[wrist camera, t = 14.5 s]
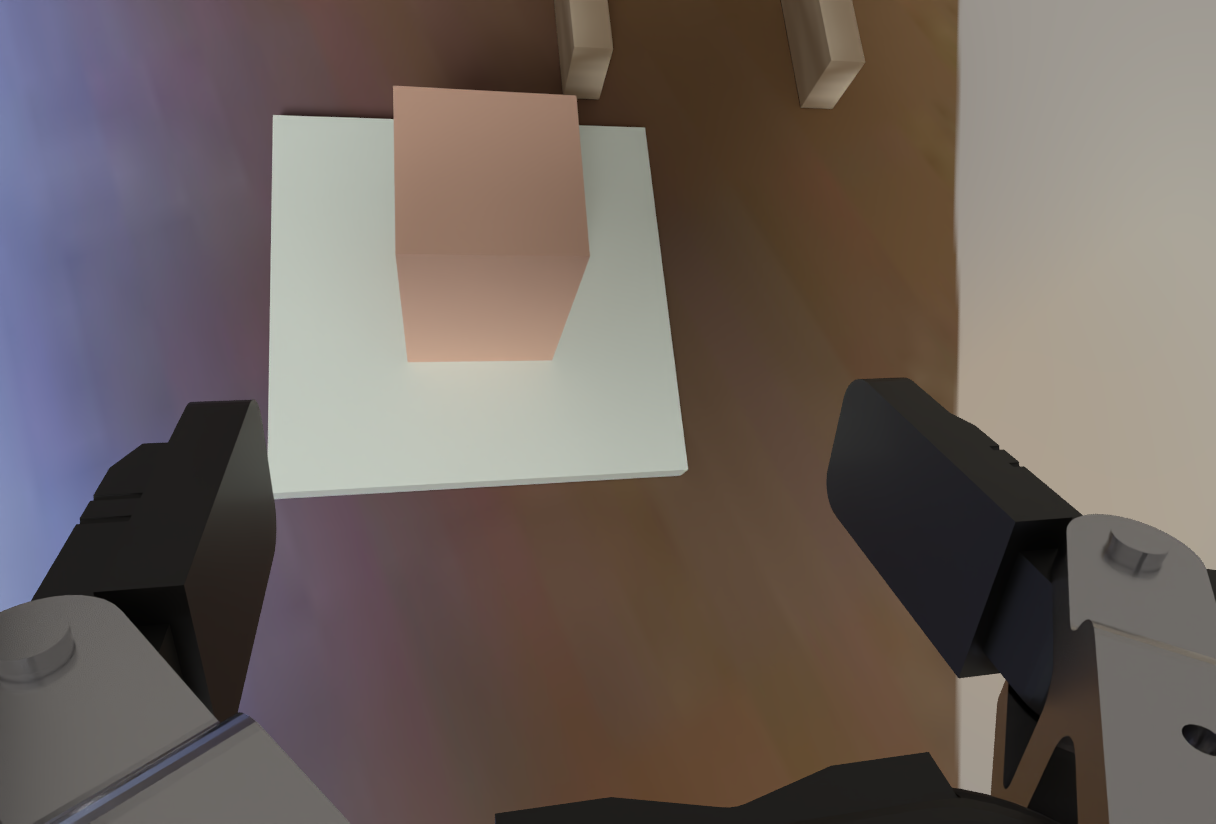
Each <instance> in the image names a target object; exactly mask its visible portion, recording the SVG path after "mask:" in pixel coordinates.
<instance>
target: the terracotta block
mask: <svg viewBox="0 0 1216 824" xmlns="http://www.w3.org/2000/svg"><path fill="white" fill-rule="evenodd" d="M393 108H394V185H395V255H396V264H397V272H398V281H399V290H400V299H401V308H402V316H403V325H404V334H405V343H406V352H407V360H408V362H462V361H539V360H552V359H553V356H554V354H555V351H556V348H557V345H558V343H559V340H560V337H561V334H562V332H563V329H564V326H565V323H566V321H567V318H568V315H569V312H570V310H571V307H572V304H573V302H574V299H575V296H576V293H577V291H578V288H579V285H580V282H581V280H582V277H583V274H584V271H585V269H586V266H587V263H588V260H589V258H590V251H589V239H588V227H587V216H586V204H585V192H584V180H583V168H582V156H581V144H580V133H579V121H578V109H577V97H576V96H575V95H556V94H538V93H519V92H501V91H482V90H464V89H445V88H426V87H408V86H393Z"/></svg>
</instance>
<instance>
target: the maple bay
mask: <svg viewBox="0 0 1216 824" xmlns="http://www.w3.org/2000/svg"><path fill="white" fill-rule="evenodd" d="M781 4H782V10H783V15H784V20H785V26H786V31H787V36H788V42H789V47H790V52H791V58H792V63H793V69H794V74H795V79H796V85H797V90H798V95H799V101H800V106H801V108H824V109H833V107H834V106H835V104H836V103H837V102H838V100H839V99H840V97H841V96H842V95H843V93H844V92H845V90H846V89H847V87H848V86H849V85H850V83H851V82H852V80H853V79H854V78H855V76H856V75H857V73H858V72H859V70H860V69H861V68H862V66H863V65H864V63H865V59H864V54H863V49H862V45H861V40H860V36H859V31H858V26H857V22H856V17H855V12H854V8H853V3H852V0H781ZM554 7H555V18H556V28H557V39H558V49H559V59H560V70H561V80H562V91H563V95H575V96H576V97H577V99H599V98H600V94H601V91H602V87H603V83H604V80H605V76H606V73H607V69H608V65H609V62H610V58H611V55H612V51H613V43H612V34H611V26H610V17H609V9H608V0H554Z"/></svg>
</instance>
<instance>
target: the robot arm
mask: <svg viewBox="0 0 1216 824" xmlns="http://www.w3.org/2000/svg"><path fill="white" fill-rule="evenodd" d="M827 494H828V499H829V502H830V505H831V508H832V510H833V512H834V514H835V515H836V517H837V518H838V519H839V521H840V522H841V523H842V525H843V526H844V527H845V529H846V530H847V531H848V533H849V534H850V535H851V536H852V538H853V539H854V540H855V542H856V543H857V544H858V546H859V547H860V548H861V550H862V551H863V552H864V554H865V555H866V556H867V558H868V559H869V560H870V562H871V563H872V564H873V566H874V567H875V568H876V570H877V571H878V572H879V574H880V575H881V576H882V577H883V579H884V580H885V581H886V583H887V584H888V585H889V587H890V588H891V589H892V591H893V592H894V593H895V595H896V596H897V597H898V599H899V600H900V601H901V603H902V604H903V605H904V607H905V608H906V609H907V611H908V612H909V613H910V615H911V616H912V617H913V618H914V620H915V621H916V622H917V624H918V625H919V626H920V628H921V629H922V630H923V632H924V633H925V634H926V636H927V637H928V638H929V640H930V641H931V642H932V644H933V645H934V646H935V648H936V649H937V650H938V652H939V653H940V654H941V656H942V657H943V658H944V659H945V661H946V662H947V663H948V665H949V666H950V667H951V669H952V670H953V671H954V673H955V674H956V675H957V677H958V678H964V677H972V676H980V675H989V674H997V673H1001V674H1002V676H1003V677H1004V678H1005V679H1006V681H1005V683H1004V686H1003V688H1002V690H1001V693H1000V695H999V698H998V703H997V714H996V728H995V742H994V757H993V771H992V785H991V795H987V794H983V793H978V792H973V791H968V790H963V789H957V788H952V787H951V786H950V784H949V783H948V781H947V780H946V778H945V777H944V775H943V774H942V772H941V770H940V769H939V767H938V766H937V764H936V763H935V761H934V760H933V758H932V757H931V755H930V753H929V752H925V753H918V754H911V755H904V756H897V757H890V758H883V759H876V760H869V761H862V762H855V763H848V764H841V765H834V766H830V767H827V768H825V769H823V770H821V771H818V772H816V773H814V774H812V775H809V776H807V777H805V778H803V779H800V780H798V781H796V782H794V783H791V784H789V785H787V786H785V787H782V788H780V789H778V790H776V791H773V792H771V793H769V794H767V795H764V796H762V797H760V798H758V799H755V800H753V801H751V802H749V803H746V804H744V805H741V806H737V807H731V808H726V807H711V806H701V805H690V804H679V803H668V802H657V801H646V800H636V799H625V798H614V797H609V798H602V799H595V800H588V801H581V802H574V803H567V804H560V805H553V806H546V807H539V808H532V809H525V810H518V811H511V812H504V813H497V814H495V824H1216V570H1210V569H1206V568H1205V565H1204V564H1203V562H1202V561H1201V559H1200V558H1199V557H1198V556H1197V555H1196V554H1195V553H1194V552H1193V551H1192V550H1191V549H1190V548H1188V547H1187V546H1186V545H1185V544H1183V543H1182V542H1180V541H1179V540H1177V539H1176V538H1174V537H1172V536H1170V535H1169V534H1167V533H1165V532H1163V531H1161V530H1158V529H1157V528H1154V527H1152V526H1149V525H1147V524H1144V523H1141V522H1138V521H1135V520H1132V519H1128V518H1123V517H1119V516H1112V515H1104V514H1091V515H1084V516H1083V515H1082V514H1081V513H1079V512H1078V511H1077V510H1076V509H1075V508H1073V507H1072V506H1071V505H1070V504H1069V503H1067V502H1066V501H1065V500H1064V499H1062V498H1061V497H1060V496H1059V495H1058V494H1057V493H1055V492H1054V491H1053V490H1052V489H1050V488H1049V487H1048V486H1047V485H1046V484H1045V483H1043V482H1042V481H1041V480H1040V479H1039V478H1037V477H1036V476H1035V475H1034V474H1033V473H1031V472H1030V471H1029V470H1028V469H1027V468H1025V467H1020V466H1019V462H1018V461H1017V460H1016V459H1015V458H1013V457H1012V456H1011V455H1010V454H1009V453H1007V452H1006V451H1005V450H999V445H998V444H997V443H995V442H994V441H993V440H992V439H991V438H989V437H988V436H987V435H986V434H985V433H983V432H982V431H981V430H980V429H979V428H977V427H976V426H975V425H973V424H971V423H969V422H967V421H965V420H963V419H961V418H959V417H957V416H955V415H953V414H951V413H949V412H948V411H947V410H946V409H945V408H944V407H942V406H941V405H940V404H939V403H938V402H936V401H935V400H934V399H933V398H932V397H931V396H929V395H928V394H927V393H926V392H925V391H924V390H922V389H921V388H920V387H919V386H918V385H917V384H915V383H914V382H913V381H912V380H910V379H908V378H878V379H857V380H854V381H853V382H852V383H851V384H850V385H849V386H848V388H847V390H846V393H845V396H844V399H843V404H842V408H841V413H840V417H839V422H838V426H837V431H836V435H835V440H834V444H833V448H832V453H831V457H830V462H829V466H828V471H827ZM93 496H94V501H90V502H89V504H88V505H87V507H86V509H85V510H84V512H83V514H82V516H81V517H80V524H76V526H75V527H74V529H73V531H72V532H71V534H70V536H69V538H68V539H67V541H66V543H65V544H64V546H63V548H62V549H61V551H60V553H59V555H58V556H57V558H56V560H55V561H54V563H53V565H52V566H51V568H50V570H49V571H48V573H47V575H46V577H45V578H44V580H43V582H42V583H41V585H40V587H39V588H38V590H37V592H36V593H35V595H34V597H33V599H32V600H31V601H30V602H27V603H23V604H20V605H17V606H15V607H12V608H9V609H7V610H4V611H2V612H0V824H350V823H349V821H348V820H347V819H346V818H345V817H344V816H343V815H342V814H341V813H340V812H339V811H338V810H337V808H336V807H335V806H334V805H333V804H332V803H331V802H330V801H329V800H328V799H327V798H326V796H325V795H324V794H323V793H322V792H321V791H320V790H319V789H318V788H317V787H316V786H315V785H314V783H313V782H312V781H311V780H310V779H309V778H308V777H307V776H306V775H305V774H304V773H303V771H302V770H301V769H300V768H299V767H298V766H297V765H296V764H295V763H294V762H293V761H292V760H291V758H290V757H289V756H288V755H287V754H286V753H285V752H284V751H283V750H282V749H281V748H280V746H279V745H278V744H277V743H276V742H275V741H274V740H273V739H272V738H271V737H270V736H269V735H268V733H267V732H266V731H265V730H264V729H263V728H262V727H261V726H260V725H259V724H258V723H257V722H256V721H255V720H253V719H252V718H251V717H250V716H248V715H246V714H244V713H240V712H239V713H238V708H239V704H240V700H241V695H242V691H243V687H244V682H245V678H246V674H247V669H248V665H249V661H250V656H251V652H252V648H253V643H254V639H255V635H256V630H257V626H258V622H259V617H260V613H261V609H262V604H263V600H264V596H265V591H266V587H267V583H268V578H269V574H270V570H271V565H272V561H273V557H274V552H275V544H276V511H275V503H274V496H273V489H272V483H271V476H270V470H269V463H268V457H267V450H266V444H265V437H264V431H263V424H262V418H261V413H260V409H259V406H258V404H257V402H256V401H255V400H233V401H205V402H190V403H188V405H187V406H186V408H185V410H184V412H183V414H182V416H181V418H180V420H179V422H178V424H177V426H176V428H175V430H174V432H173V434H172V436H171V438H170V440H169V442H168V443H147V444H142V445H140V446H139V447H138V448H136V449H135V450H133V451H132V452H131V453H129V454H128V455H127V456H125V457H124V458H123V459H121V460H120V461H118V462H117V463H116V464H114V465H113V466H112V467H110V468H109V470H108V472H107V473H106V475H105V477H104V478H103V480H102V482H101V483H100V485H99V487H98V488H97V490H96V492H95V494H94V495H93Z"/></svg>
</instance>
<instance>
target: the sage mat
mask: <svg viewBox="0 0 1216 824" xmlns="http://www.w3.org/2000/svg"><path fill="white" fill-rule="evenodd" d="M579 133H580V144H581V156H582V168H583V180H584V192H585V204H586V216H587V227H588V239H589V251H590V258H589V260H588V263H587V266H586V269H585V271H584V274H583V277H582V280H581V282H580V285H579V288H578V291H577V293H576V296H575V299H574V302H573V304H572V307H571V310H570V312H569V315H568V318H567V321H566V323H565V326H564V329H563V332H562V334H561V337H560V340H559V343H558V345H557V348H556V351H555V354H554V356H553V359H552V360H539V361H462V362H408V360H407V352H406V343H405V334H404V325H403V316H402V308H401V299H400V290H399V281H398V272H397V264H396V255H395V185H394V119H375V118H345V117H315V116H286V115H273V152H272V216H271V280H270V344H269V408H268V463H269V470H270V476H271V483H272V489H273V496H274V499H285V498H302V497H320V496H337V495H354V494H371V493H389V492H406V491H423V490H440V489H457V488H475V487H492V486H509V485H526V484H543V483H561V482H578V481H595V480H612V479H630V478H647V477H664V476H680V475H682V474H683V473H684V472H686V471H687V470H688V465H687V457H686V449H685V441H684V433H683V425H682V417H681V410H680V402H679V394H678V386H677V378H676V370H675V362H674V354H673V346H672V338H671V330H670V322H669V314H668V306H667V299H666V291H665V283H664V275H663V267H662V259H661V251H660V243H659V235H658V227H657V219H656V211H655V203H654V195H653V188H652V180H651V172H650V164H649V156H648V148H647V140H646V132H645V128H642V127H613V126H583V125H579Z"/></svg>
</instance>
